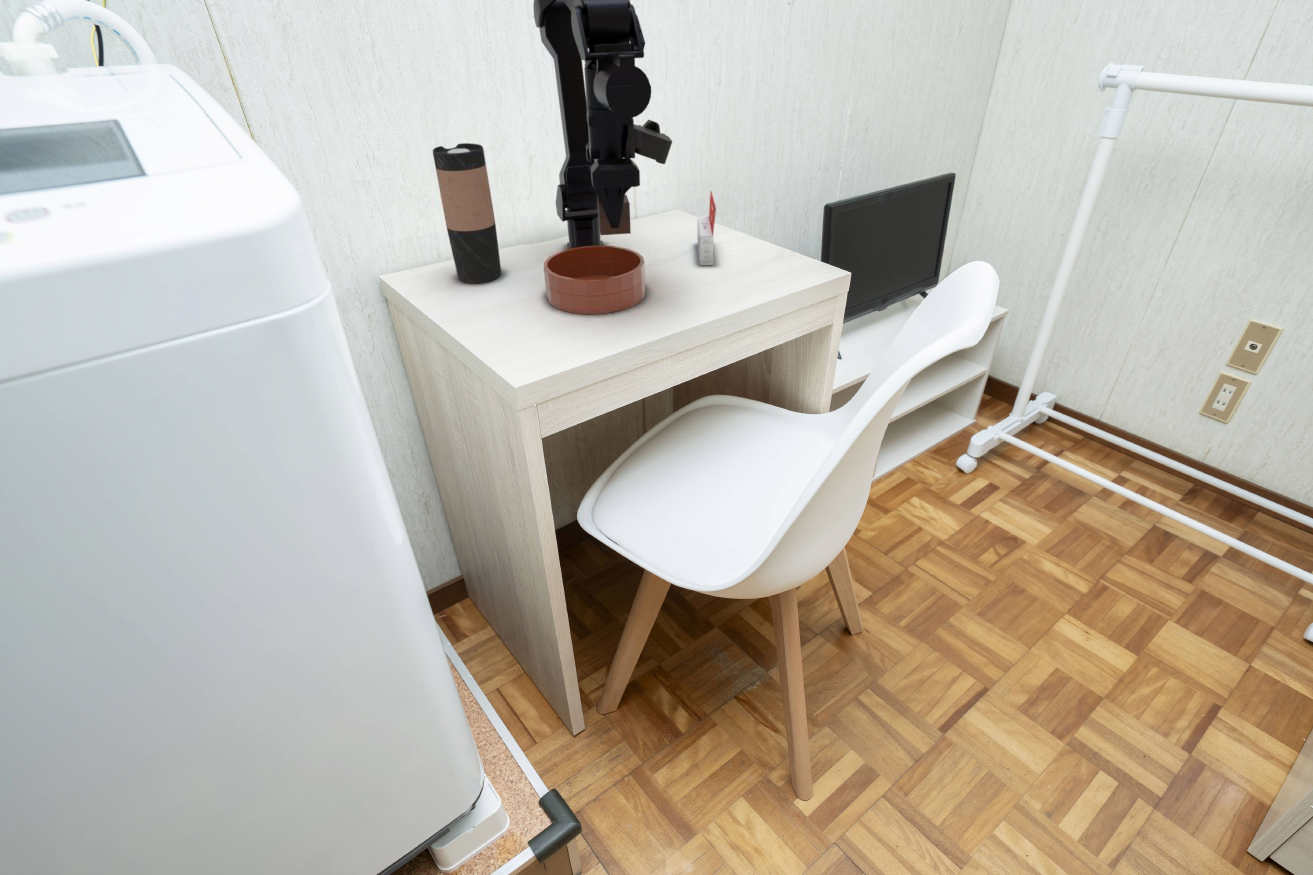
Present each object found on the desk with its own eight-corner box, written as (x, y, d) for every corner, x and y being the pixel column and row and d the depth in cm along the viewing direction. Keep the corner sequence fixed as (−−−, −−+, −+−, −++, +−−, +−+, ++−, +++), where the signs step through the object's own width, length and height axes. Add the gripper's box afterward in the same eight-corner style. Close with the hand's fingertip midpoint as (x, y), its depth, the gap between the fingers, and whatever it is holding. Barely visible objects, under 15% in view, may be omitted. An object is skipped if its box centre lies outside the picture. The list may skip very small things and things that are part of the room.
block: (598, 226, 100) (596, 196, 98) (627, 224, 101) (626, 194, 98) (600, 235, 97) (598, 204, 94) (630, 233, 97) (629, 203, 95)
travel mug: (492, 285, 108) (470, 154, 96) (448, 283, 109) (422, 153, 98) (510, 269, 114) (491, 143, 102) (468, 266, 115) (445, 142, 104)
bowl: (548, 279, 110) (544, 248, 107) (639, 273, 111) (638, 243, 108) (546, 317, 97) (542, 283, 94) (649, 310, 99) (649, 277, 96)
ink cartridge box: (699, 266, 114) (701, 207, 108) (696, 244, 123) (697, 190, 117) (714, 265, 114) (716, 207, 108) (709, 244, 123) (711, 189, 117)
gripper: (678, 115, 83) (677, 240, 91) (658, 94, 98) (659, 202, 107) (588, 119, 81) (597, 245, 90) (582, 97, 97) (589, 206, 106)
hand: (614, 223), depth 98 cm, fingers closed on block, 4 cm apart
